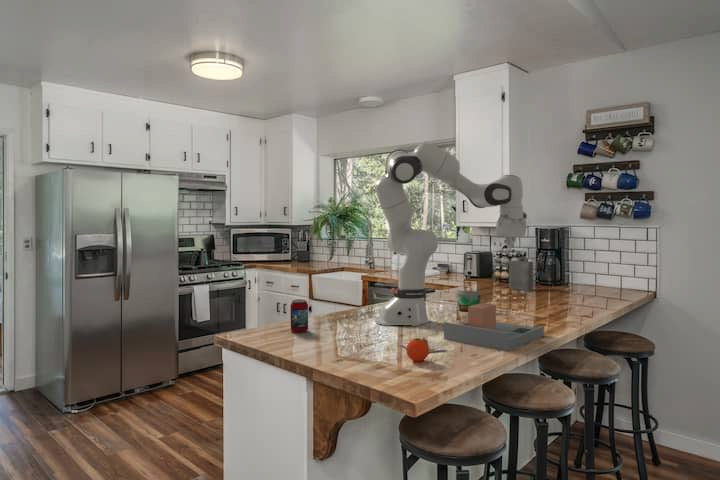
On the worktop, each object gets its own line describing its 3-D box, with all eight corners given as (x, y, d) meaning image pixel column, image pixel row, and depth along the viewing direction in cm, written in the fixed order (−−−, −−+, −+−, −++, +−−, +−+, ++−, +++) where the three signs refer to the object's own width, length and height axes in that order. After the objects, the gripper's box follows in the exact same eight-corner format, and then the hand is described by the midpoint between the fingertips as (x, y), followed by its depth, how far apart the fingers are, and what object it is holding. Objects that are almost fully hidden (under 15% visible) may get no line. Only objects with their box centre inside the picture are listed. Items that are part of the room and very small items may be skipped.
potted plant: (453, 311, 227) (453, 290, 227) (455, 309, 233) (455, 288, 233) (480, 313, 223) (480, 291, 222) (482, 311, 228) (482, 290, 228)
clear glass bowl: (413, 356, 156) (413, 341, 156) (399, 346, 168) (399, 332, 168) (447, 353, 160) (447, 338, 160) (431, 344, 171) (431, 330, 171)
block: (482, 329, 179) (482, 302, 179) (495, 332, 176) (496, 304, 175) (467, 334, 172) (468, 306, 172) (481, 337, 168) (482, 308, 168)
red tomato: (409, 356, 154) (409, 333, 154) (431, 358, 152) (431, 335, 152) (404, 363, 147) (404, 339, 146) (427, 365, 145) (427, 341, 144)
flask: (534, 291, 291) (535, 257, 291) (529, 292, 288) (530, 258, 287) (512, 288, 303) (513, 256, 302) (507, 289, 299) (507, 256, 298)
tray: (483, 325, 197) (483, 311, 197) (543, 335, 181) (544, 319, 180) (443, 338, 176) (443, 322, 176) (507, 351, 159) (507, 333, 159)
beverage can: (294, 334, 184) (293, 302, 184) (288, 330, 190) (288, 299, 190) (310, 332, 187) (310, 301, 187) (304, 328, 193) (304, 298, 193)
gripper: (506, 214, 192) (506, 249, 192) (528, 214, 207) (528, 247, 207) (491, 214, 196) (491, 249, 196) (514, 214, 211) (514, 246, 211)
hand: (510, 248), depth 202 cm, fingers closed
